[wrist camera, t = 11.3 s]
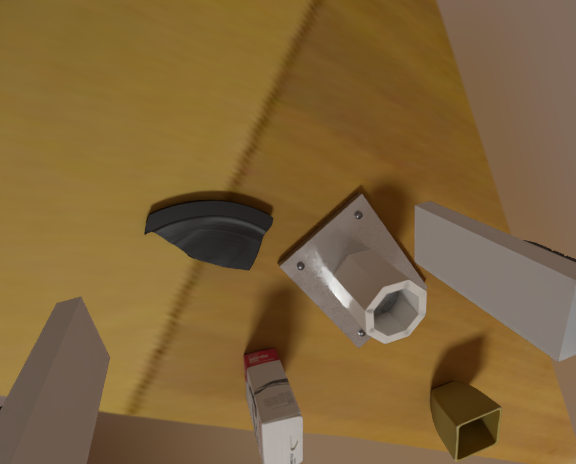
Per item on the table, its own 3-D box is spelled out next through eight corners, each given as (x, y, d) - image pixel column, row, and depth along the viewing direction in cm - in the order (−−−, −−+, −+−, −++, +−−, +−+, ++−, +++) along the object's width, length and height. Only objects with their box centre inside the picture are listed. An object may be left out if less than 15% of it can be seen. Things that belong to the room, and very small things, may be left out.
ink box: (242, 353, 49) (260, 423, 38) (276, 346, 50) (303, 412, 40) (245, 400, 52) (264, 477, 42) (277, 392, 53) (303, 465, 43)
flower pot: (421, 384, 63) (457, 426, 55) (462, 368, 65) (503, 407, 56) (421, 419, 66) (455, 463, 58) (460, 403, 68) (498, 443, 60)
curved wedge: (160, 173, 38) (160, 176, 37) (272, 211, 44) (275, 215, 42) (138, 241, 40) (137, 247, 39) (248, 270, 45) (250, 276, 44)
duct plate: (277, 263, 46) (293, 289, 39) (358, 192, 46) (387, 206, 39) (355, 344, 55) (379, 375, 48) (423, 284, 54) (455, 308, 48)
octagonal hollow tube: (336, 309, 50) (367, 350, 42) (331, 259, 47) (363, 292, 39) (386, 294, 52) (425, 330, 44) (385, 244, 48) (427, 274, 40)
